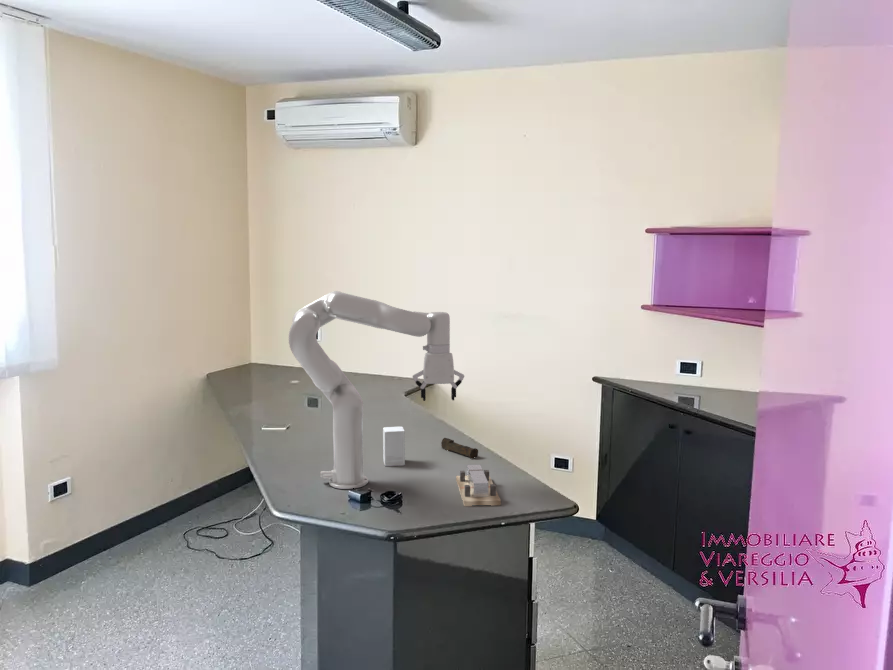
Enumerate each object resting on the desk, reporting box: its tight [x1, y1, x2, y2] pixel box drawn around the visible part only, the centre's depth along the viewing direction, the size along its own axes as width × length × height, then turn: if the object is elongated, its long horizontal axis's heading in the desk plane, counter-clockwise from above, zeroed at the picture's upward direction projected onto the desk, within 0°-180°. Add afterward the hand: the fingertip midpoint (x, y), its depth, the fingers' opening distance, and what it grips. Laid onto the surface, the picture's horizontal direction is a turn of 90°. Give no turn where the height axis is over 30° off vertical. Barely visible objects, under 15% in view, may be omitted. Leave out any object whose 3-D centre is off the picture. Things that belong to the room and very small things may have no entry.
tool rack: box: [455, 469, 502, 507], centre depth 213 cm, size 11×24×4 cm, turn 5°
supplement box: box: [382, 426, 406, 467], centre depth 243 cm, size 7×7×13 cm
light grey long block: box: [466, 464, 488, 497], centre depth 213 cm, size 4×18×4 cm, turn 5°
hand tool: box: [440, 437, 479, 459], centre depth 257 cm, size 19×4×5 cm, turn 38°
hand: (438, 399), depth 227 cm, fingers open, 9 cm apart
